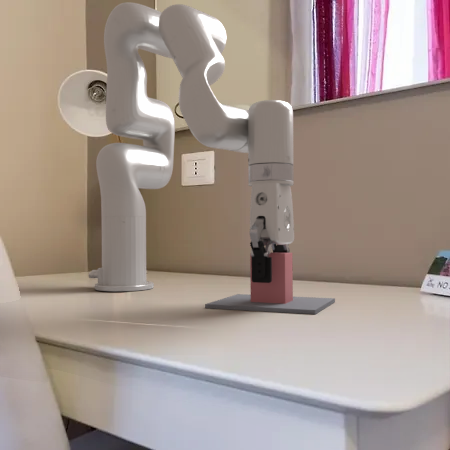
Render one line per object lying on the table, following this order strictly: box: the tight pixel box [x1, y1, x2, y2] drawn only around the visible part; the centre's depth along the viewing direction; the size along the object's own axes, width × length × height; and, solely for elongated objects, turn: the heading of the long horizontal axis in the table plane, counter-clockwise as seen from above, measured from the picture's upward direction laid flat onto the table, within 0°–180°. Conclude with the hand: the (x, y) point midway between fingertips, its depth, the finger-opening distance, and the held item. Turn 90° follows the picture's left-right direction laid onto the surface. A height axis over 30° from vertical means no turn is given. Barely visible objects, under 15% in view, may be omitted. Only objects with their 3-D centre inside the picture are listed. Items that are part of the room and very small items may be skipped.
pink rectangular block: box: [249, 251, 294, 304], centre depth 88 cm, size 4×6×8 cm, turn 65°
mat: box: [204, 293, 336, 315], centre depth 88 cm, size 18×14×1 cm
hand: (271, 279), depth 88 cm, fingers open, 9 cm apart
